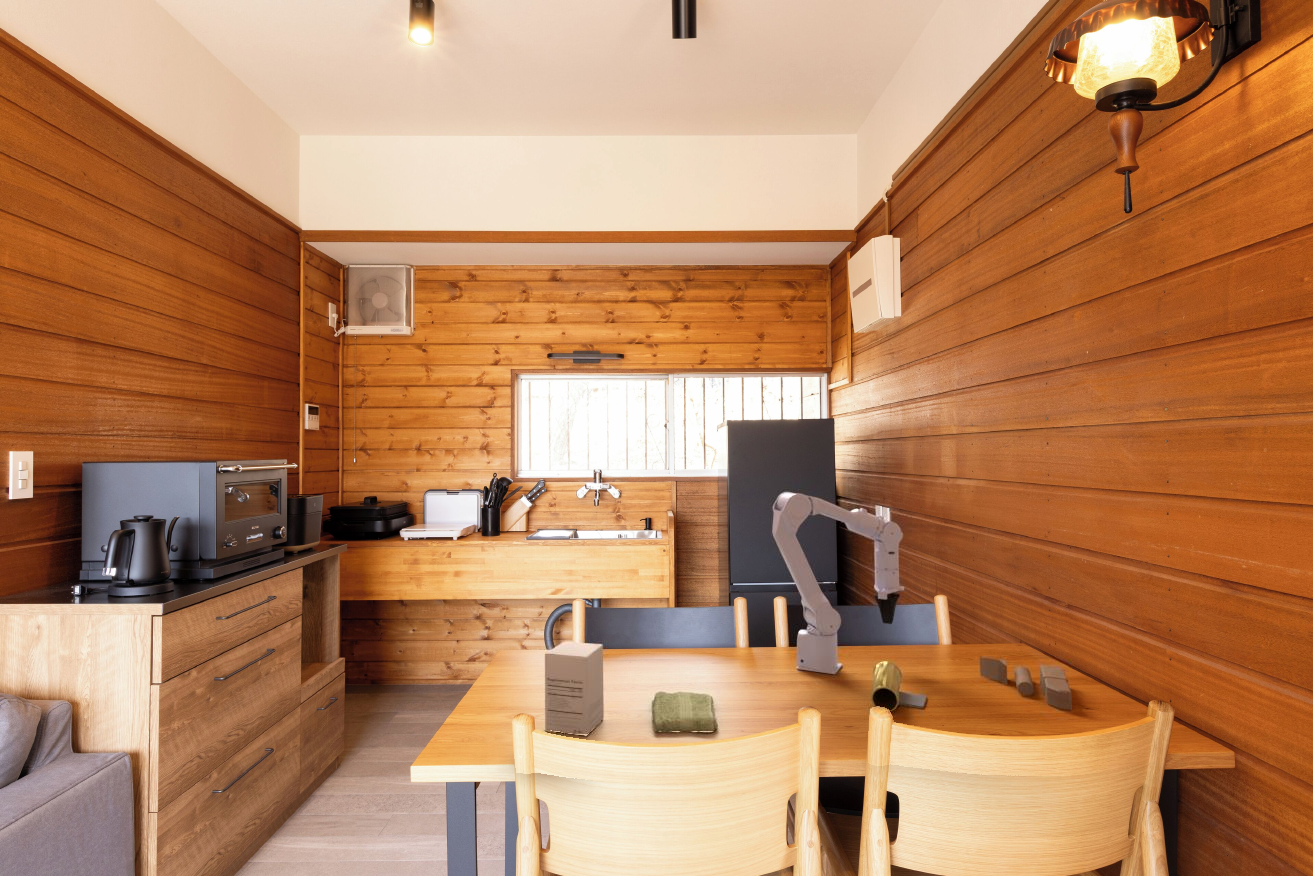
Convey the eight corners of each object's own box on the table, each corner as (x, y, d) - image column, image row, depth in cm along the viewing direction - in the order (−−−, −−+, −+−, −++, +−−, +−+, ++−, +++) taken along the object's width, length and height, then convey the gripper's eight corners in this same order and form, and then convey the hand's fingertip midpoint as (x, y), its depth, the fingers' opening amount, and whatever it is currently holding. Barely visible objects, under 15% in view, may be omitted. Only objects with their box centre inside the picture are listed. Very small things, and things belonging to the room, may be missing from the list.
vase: (906, 669, 145) (905, 694, 131) (895, 693, 146) (893, 720, 132) (879, 656, 147) (875, 679, 133) (868, 679, 148) (864, 705, 134)
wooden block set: (1062, 661, 150) (1073, 686, 134) (1063, 686, 150) (1073, 714, 133) (979, 652, 157) (980, 674, 141) (980, 675, 157) (980, 701, 141)
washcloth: (712, 702, 141) (712, 687, 141) (719, 736, 123) (718, 719, 124) (651, 702, 141) (651, 687, 142) (649, 736, 124) (649, 719, 124)
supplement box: (563, 714, 134) (563, 640, 134) (604, 719, 131) (604, 643, 132) (543, 732, 125) (543, 652, 125) (586, 737, 122) (586, 656, 123)
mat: (872, 700, 140) (872, 698, 140) (878, 690, 146) (878, 688, 146) (923, 708, 135) (923, 706, 135) (926, 698, 142) (926, 695, 142)
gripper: (899, 574, 157) (900, 631, 156) (907, 565, 170) (908, 618, 169) (868, 571, 160) (869, 628, 160) (879, 563, 173) (880, 615, 173)
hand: (887, 623), depth 165 cm, fingers closed
